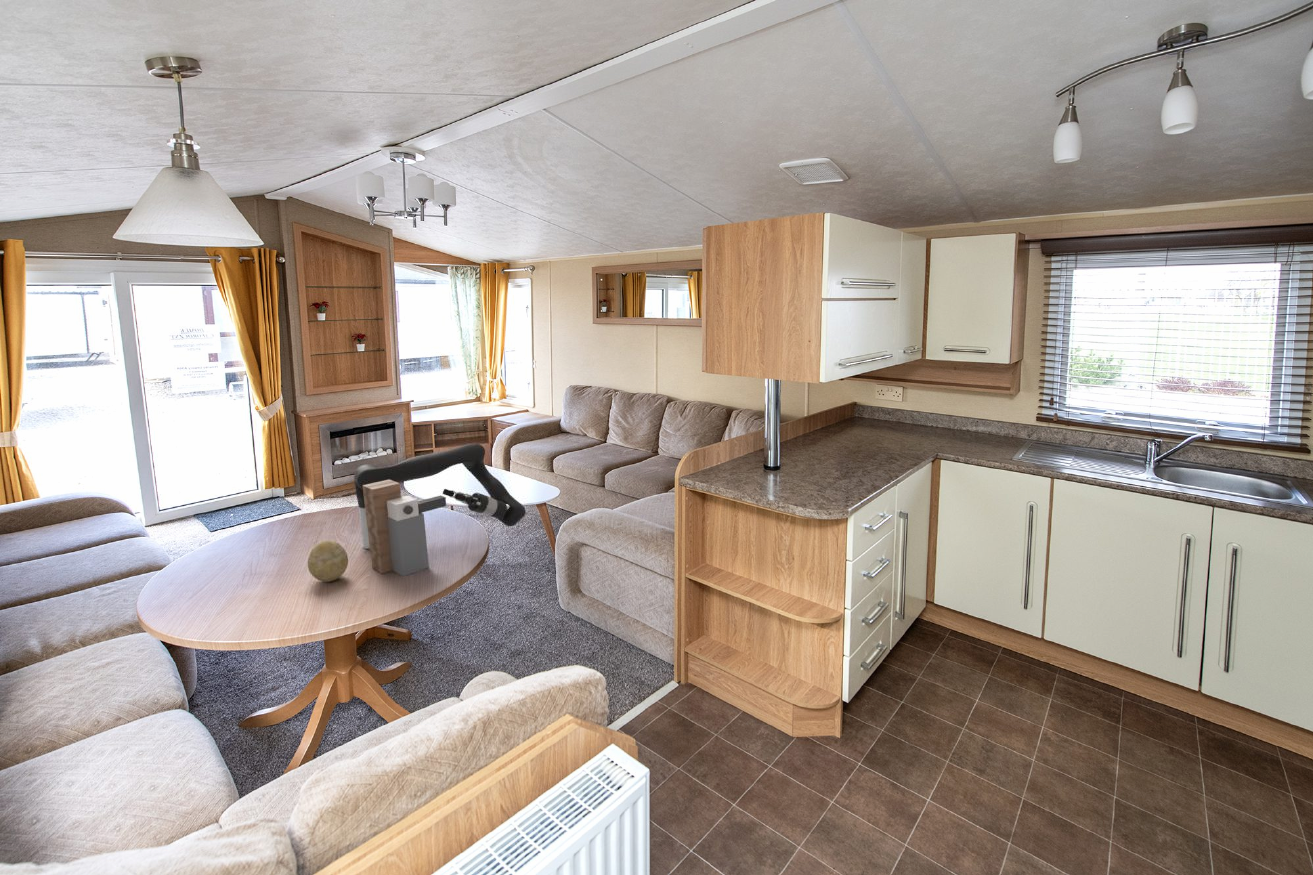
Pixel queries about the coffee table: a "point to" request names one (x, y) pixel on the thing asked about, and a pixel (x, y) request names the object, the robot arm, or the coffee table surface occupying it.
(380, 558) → the walnut post
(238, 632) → the coffee table surface
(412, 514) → the action camera
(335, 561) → the fossilized egg
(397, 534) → the grey rectangular block
